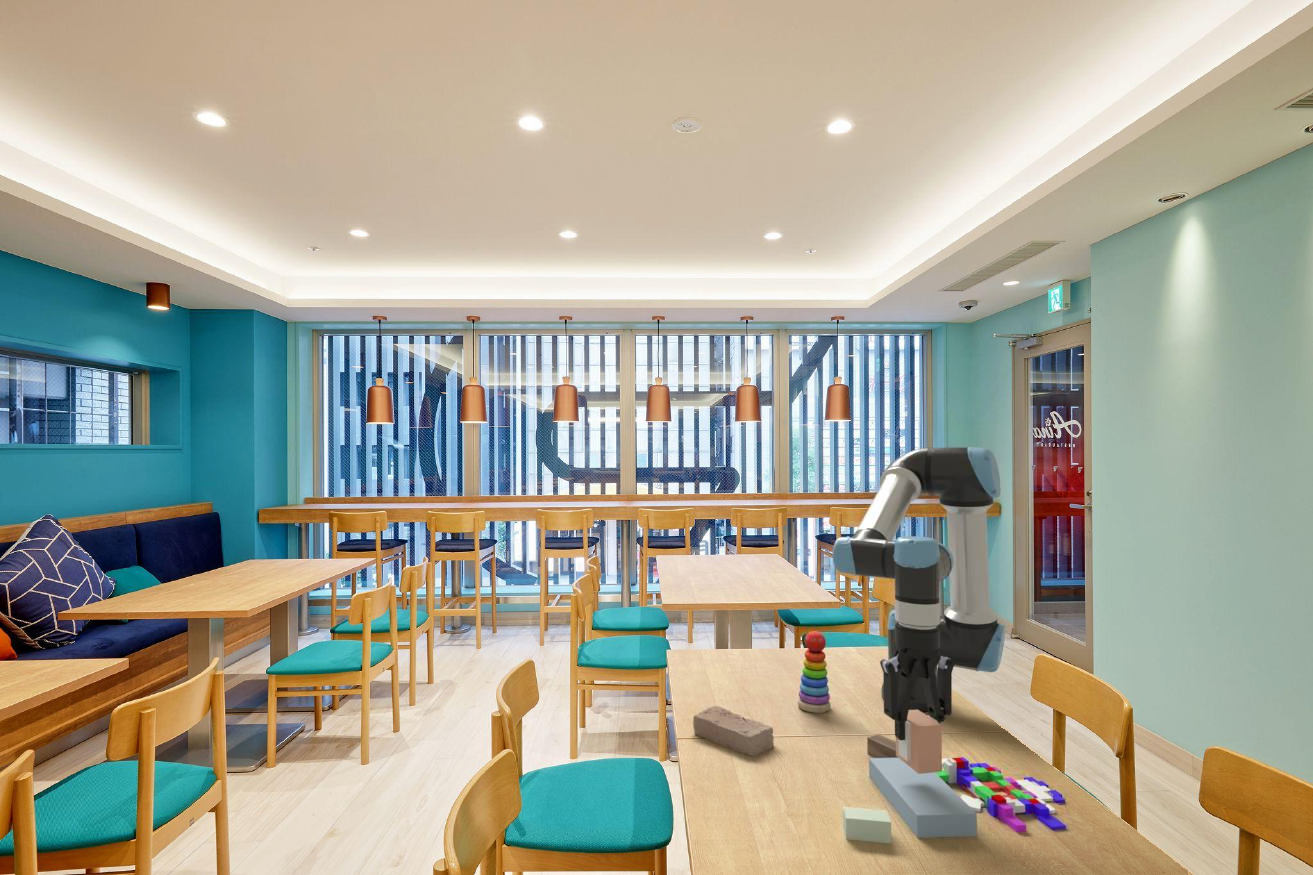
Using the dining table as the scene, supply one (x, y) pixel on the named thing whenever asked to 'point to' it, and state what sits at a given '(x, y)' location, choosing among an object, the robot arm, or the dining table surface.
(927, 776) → the base block
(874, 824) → the sage block
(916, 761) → the terracotta block
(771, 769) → the dining table surface
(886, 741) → the walnut block
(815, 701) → the stacking toy
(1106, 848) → the dining table surface
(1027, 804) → the building block set
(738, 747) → the brick
